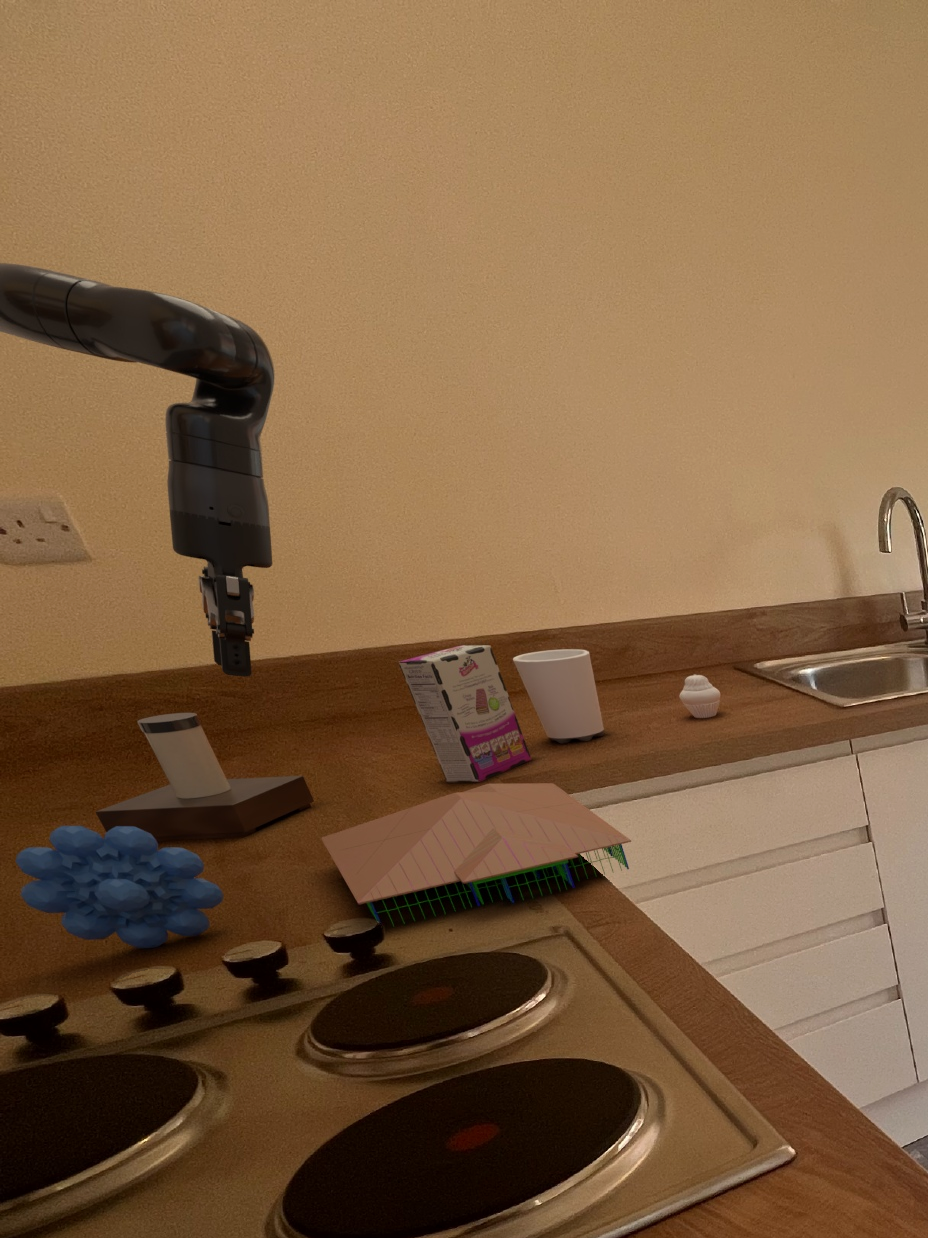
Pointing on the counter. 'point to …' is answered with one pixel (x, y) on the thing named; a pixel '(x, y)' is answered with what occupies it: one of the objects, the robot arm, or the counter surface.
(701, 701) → the muffin
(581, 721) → the cup
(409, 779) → the counter surface
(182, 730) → the spice jar
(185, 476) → the robot arm
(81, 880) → the blue flower
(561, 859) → the house
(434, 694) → the candy bar box
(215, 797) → the platform
